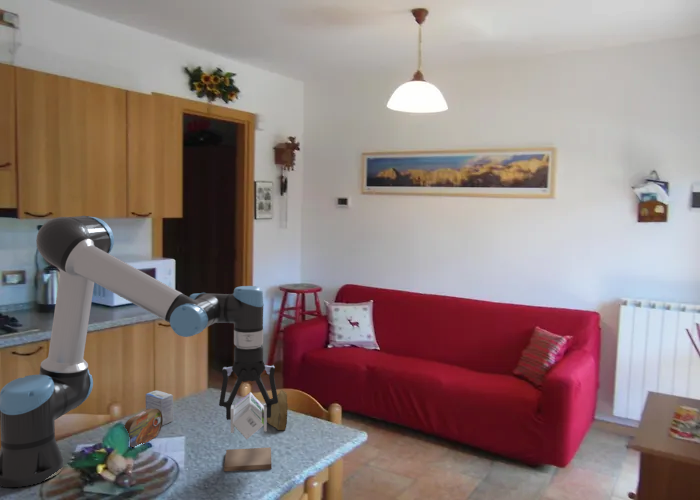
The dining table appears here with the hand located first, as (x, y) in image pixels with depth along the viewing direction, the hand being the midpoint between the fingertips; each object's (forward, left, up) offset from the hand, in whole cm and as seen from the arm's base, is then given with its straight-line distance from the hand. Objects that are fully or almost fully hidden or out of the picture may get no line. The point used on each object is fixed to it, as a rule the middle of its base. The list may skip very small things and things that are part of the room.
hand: (248, 430), depth 147 cm
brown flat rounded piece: (-30, +16, -9) cm, 35 cm away
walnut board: (0, 0, -9) cm, 9 cm away
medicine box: (-28, +31, -9) cm, 43 cm away
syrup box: (0, -8, +5) cm, 9 cm away
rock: (+8, +24, -9) cm, 27 cm away
